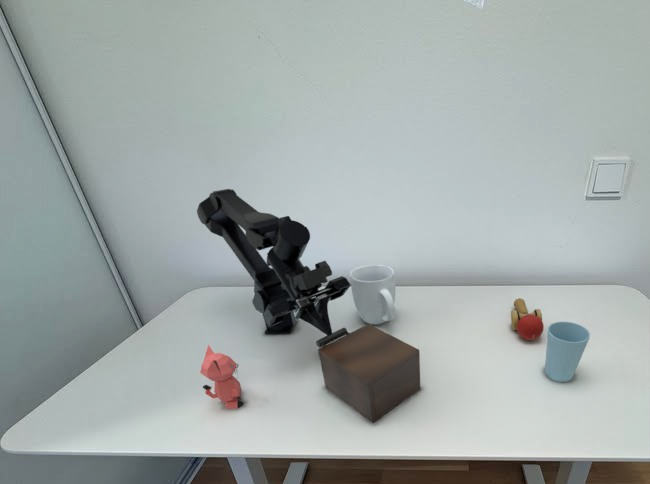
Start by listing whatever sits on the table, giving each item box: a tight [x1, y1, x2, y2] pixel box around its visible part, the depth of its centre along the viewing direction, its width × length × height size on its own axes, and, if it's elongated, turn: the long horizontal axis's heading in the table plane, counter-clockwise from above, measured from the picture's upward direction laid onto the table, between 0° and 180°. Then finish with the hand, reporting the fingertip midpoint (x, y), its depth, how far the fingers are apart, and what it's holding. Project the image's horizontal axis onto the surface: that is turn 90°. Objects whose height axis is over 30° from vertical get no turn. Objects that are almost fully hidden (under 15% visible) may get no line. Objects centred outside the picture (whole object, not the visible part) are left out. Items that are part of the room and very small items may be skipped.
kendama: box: [510, 297, 545, 341], centre depth 92 cm, size 8×6×18 cm
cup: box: [544, 321, 591, 383], centre depth 74 cm, size 8×8×10 cm
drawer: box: [315, 327, 350, 378], centre depth 74 cm, size 18×11×8 cm, turn 46°
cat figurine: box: [199, 344, 244, 410], centre depth 69 cm, size 7×7×12 cm
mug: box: [349, 263, 396, 325], centre depth 93 cm, size 15×11×13 cm
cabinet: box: [317, 323, 421, 424], centre depth 72 cm, size 15×13×10 cm
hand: (330, 334), depth 78 cm, fingers closed, pressing on drawer
